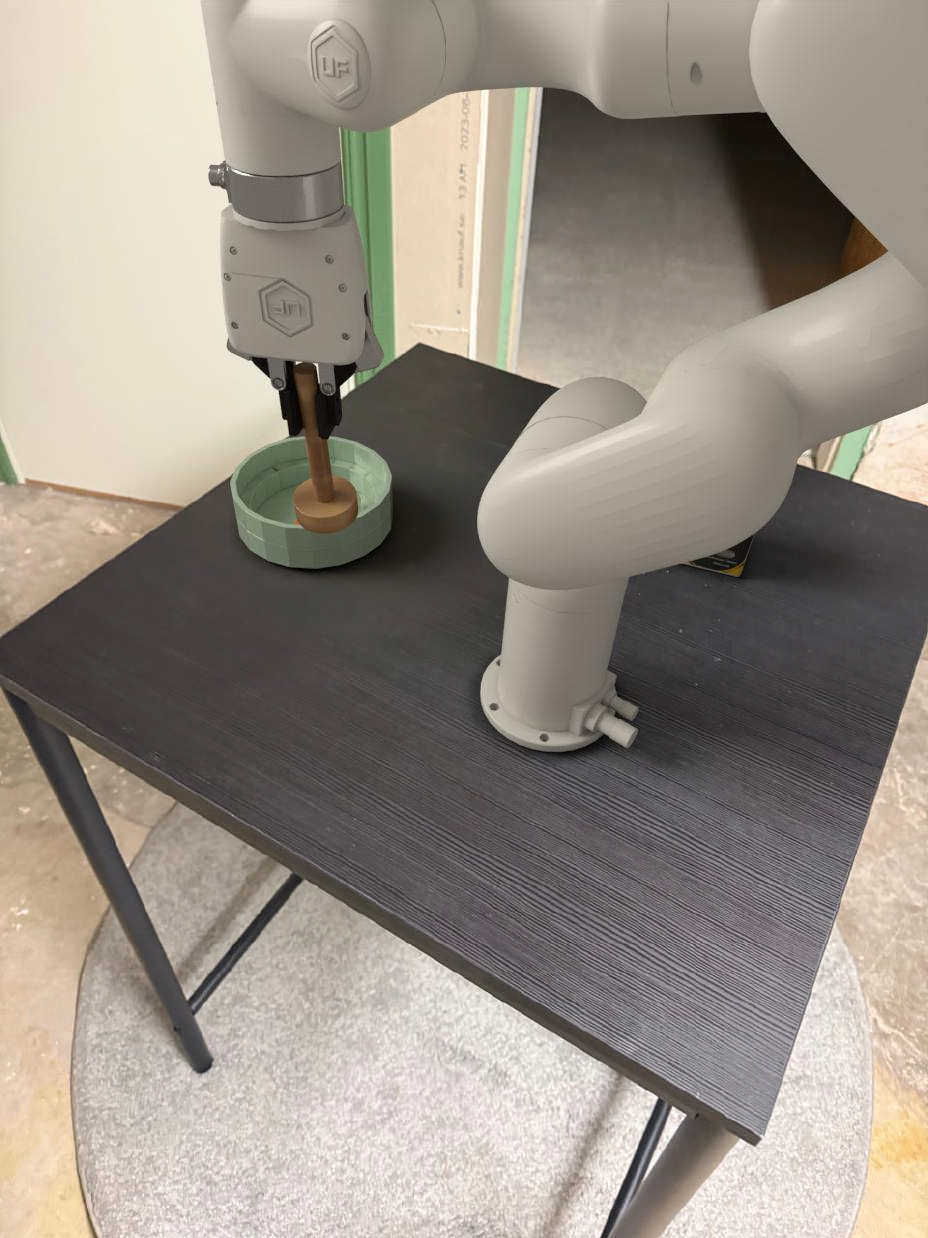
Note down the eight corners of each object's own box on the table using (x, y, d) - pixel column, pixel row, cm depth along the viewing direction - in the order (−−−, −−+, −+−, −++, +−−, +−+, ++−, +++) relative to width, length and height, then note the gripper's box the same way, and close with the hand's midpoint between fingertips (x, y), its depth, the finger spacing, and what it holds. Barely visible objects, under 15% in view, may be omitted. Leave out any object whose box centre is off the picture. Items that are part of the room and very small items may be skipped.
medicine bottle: (674, 563, 96) (699, 472, 87) (683, 525, 101) (708, 436, 92) (739, 579, 94) (771, 488, 86) (745, 540, 99) (776, 451, 91)
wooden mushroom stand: (367, 523, 77) (351, 379, 66) (306, 541, 76) (279, 396, 64) (347, 485, 80) (328, 341, 69) (288, 501, 79) (259, 357, 68)
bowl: (423, 517, 100) (423, 474, 96) (316, 595, 90) (311, 550, 86) (315, 461, 107) (311, 419, 103) (206, 527, 97) (196, 483, 93)
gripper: (151, 198, 56) (203, 443, 69) (389, 218, 55) (398, 465, 67) (196, 163, 62) (237, 396, 74) (414, 180, 60) (418, 415, 73)
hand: (313, 427), depth 71 cm, fingers closed on wooden mushroom stand
